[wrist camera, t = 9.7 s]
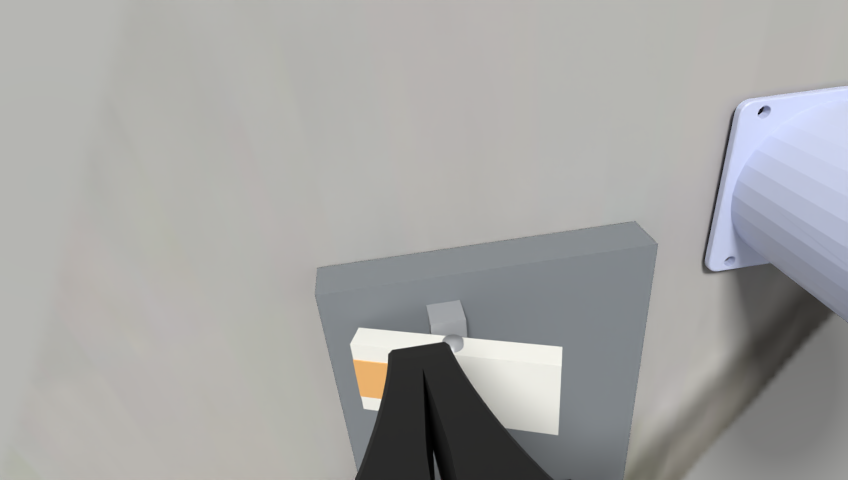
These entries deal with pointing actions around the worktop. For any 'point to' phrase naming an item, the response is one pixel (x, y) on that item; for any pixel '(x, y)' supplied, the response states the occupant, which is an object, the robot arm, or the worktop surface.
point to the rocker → (475, 374)
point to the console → (514, 327)
